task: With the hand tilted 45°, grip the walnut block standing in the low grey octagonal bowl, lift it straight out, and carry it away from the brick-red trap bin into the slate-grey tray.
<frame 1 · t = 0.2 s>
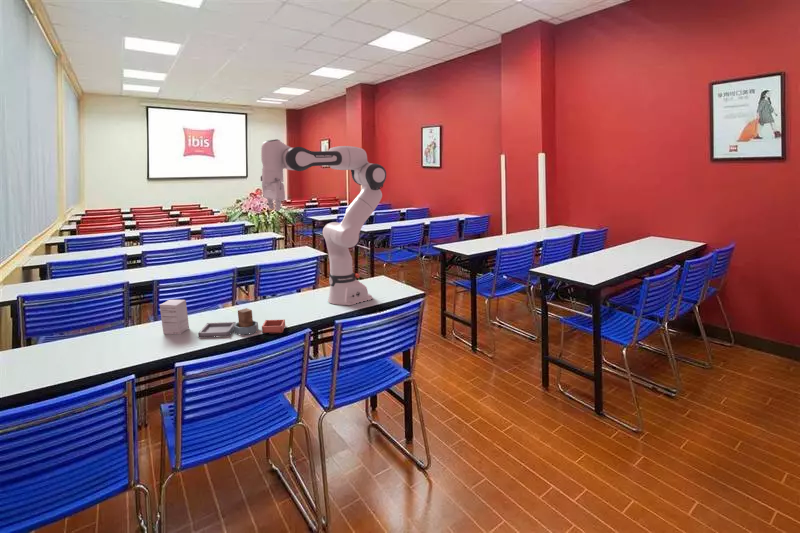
hand: (274, 209, 202), 48 cm above the table, tool pointing down, fingers open, 8 cm apart
supplement box: (176, 331, 189), on the table
grey octagonal bowl: (246, 330, 189), on the table
slate tray: (217, 331, 188), on the table
trap bin: (274, 329, 190), on the table
walnut block: (246, 331, 189), resting in grey octagonal bowl
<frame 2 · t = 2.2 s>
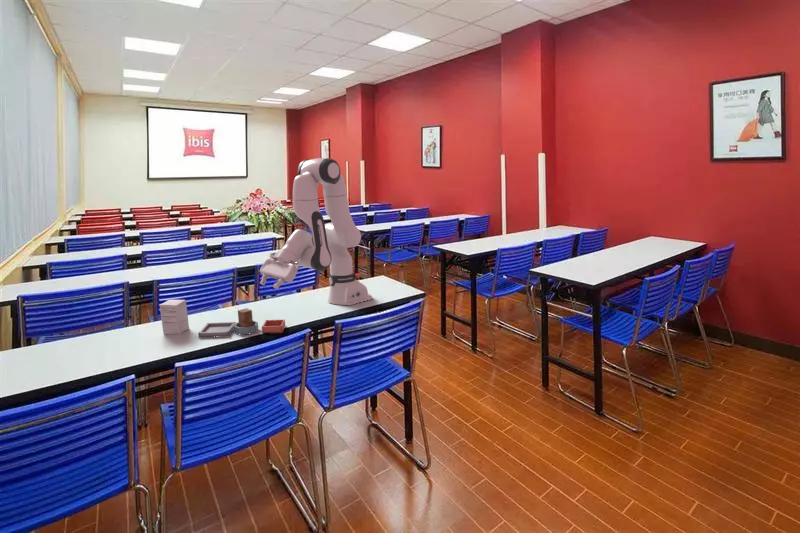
hand: (268, 286, 194), 17 cm above the table, tool tilted 45°, fingers open, 8 cm apart
nothing on the table moved.
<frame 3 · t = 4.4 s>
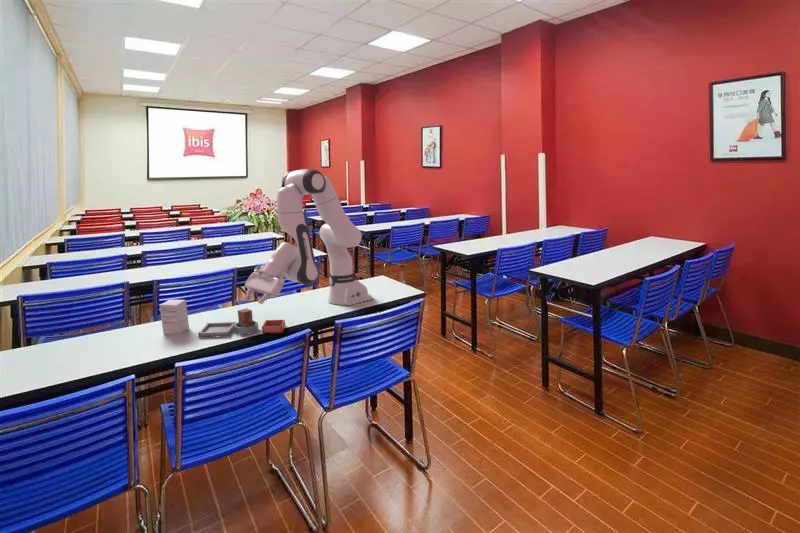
hand: (253, 301, 189), 12 cm above the table, tool tilted 45°, fingers open, 8 cm apart
nothing on the table moved.
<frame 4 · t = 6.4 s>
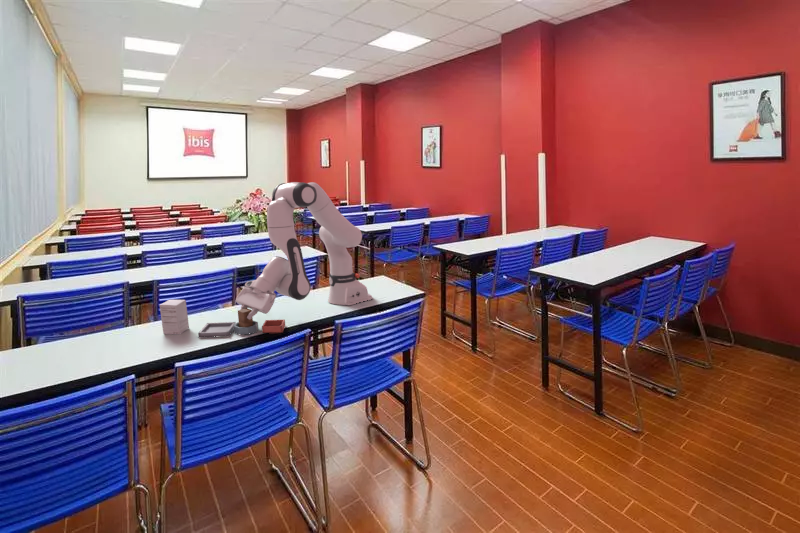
hand: (243, 317, 187), 6 cm above the table, tool tilted 45°, fingers closed on walnut block, 4 cm apart
walnut block: (246, 330, 189), resting in grey octagonal bowl, touching gripper
everything else where it was.
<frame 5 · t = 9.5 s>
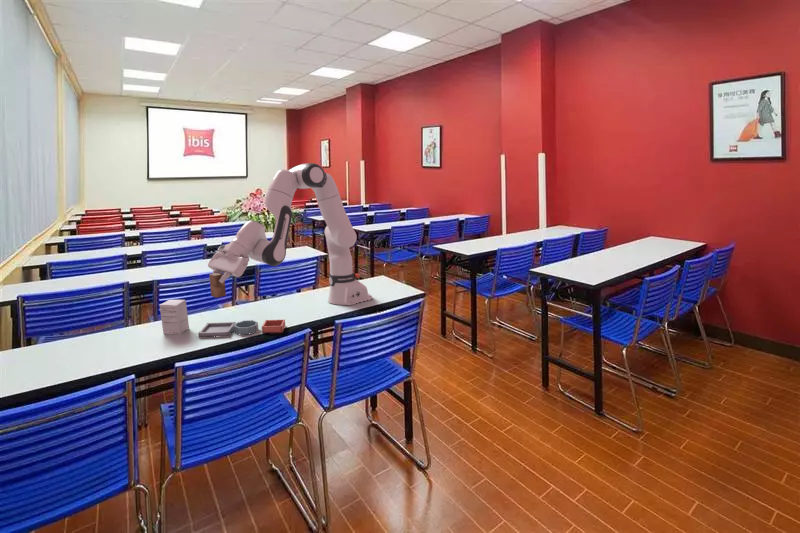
hand: (215, 281, 181), 22 cm above the table, tool tilted 45°, fingers closed on walnut block, 4 cm apart
walnut block: (218, 295, 183), point 16 cm above the table, touching gripper
everything else where it was.
when the fingers open (8 cm above the table, at t = 12.5 s): walnut block drops 1 cm, resting on slate tray.
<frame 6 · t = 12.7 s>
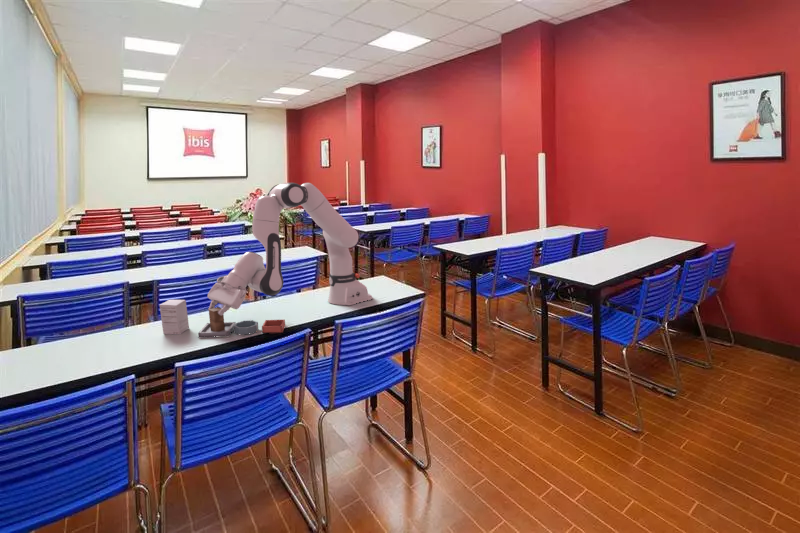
hand: (214, 312, 185), 8 cm above the table, tool tilted 45°, fingers open, 6 cm apart
walnut block: (217, 330, 187), point 1 cm above the table, touching slate tray
everything else where it was.
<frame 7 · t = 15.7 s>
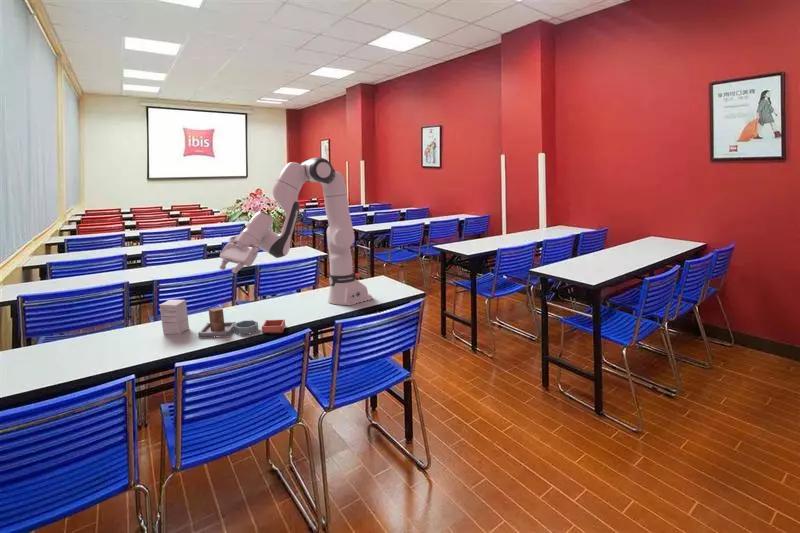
hand: (227, 270, 187), 25 cm above the table, tool tilted 45°, fingers open, 8 cm apart
nothing on the table moved.
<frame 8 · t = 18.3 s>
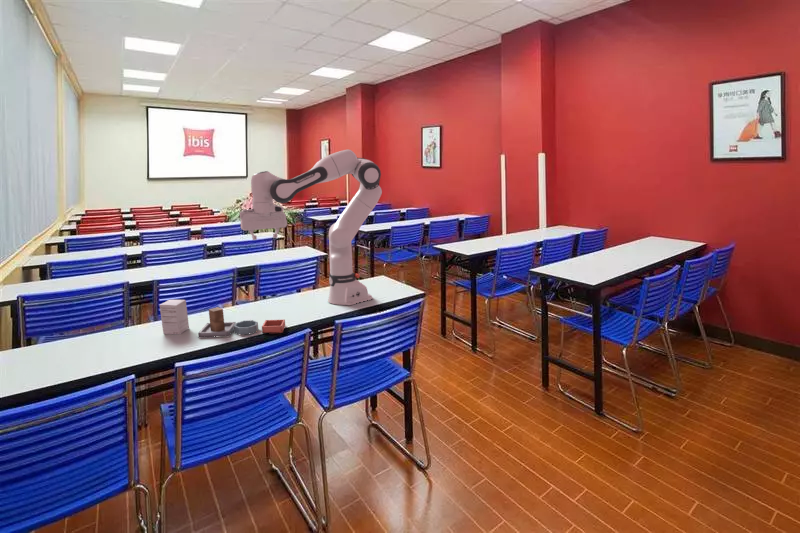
hand: (265, 238, 207), 34 cm above the table, tool pointing down, fingers open, 8 cm apart
nothing on the table moved.
at the end: walnut block inside the target area on the slate tray (0.1 cm from its centre), point 0.8 cm above the slate tray's base; walnut block tilted 0°; the gripper is holding nothing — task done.
